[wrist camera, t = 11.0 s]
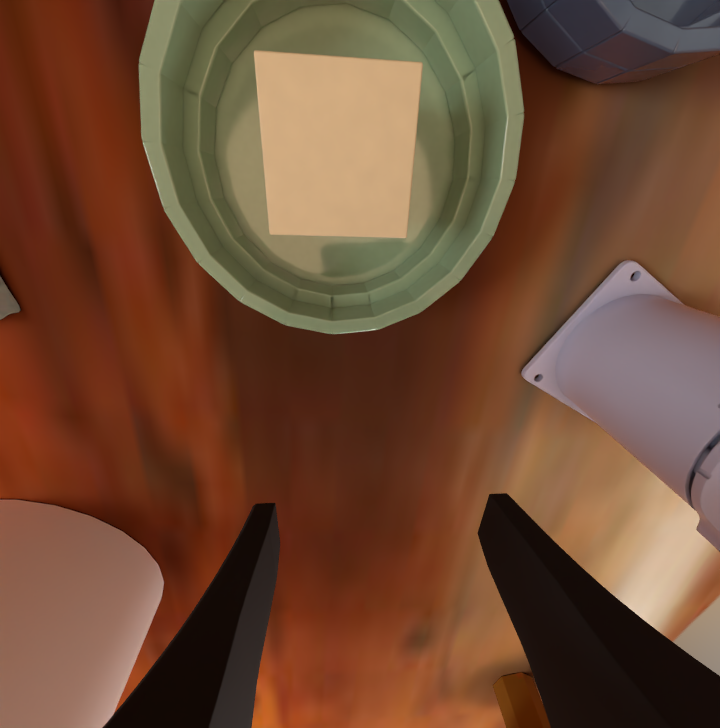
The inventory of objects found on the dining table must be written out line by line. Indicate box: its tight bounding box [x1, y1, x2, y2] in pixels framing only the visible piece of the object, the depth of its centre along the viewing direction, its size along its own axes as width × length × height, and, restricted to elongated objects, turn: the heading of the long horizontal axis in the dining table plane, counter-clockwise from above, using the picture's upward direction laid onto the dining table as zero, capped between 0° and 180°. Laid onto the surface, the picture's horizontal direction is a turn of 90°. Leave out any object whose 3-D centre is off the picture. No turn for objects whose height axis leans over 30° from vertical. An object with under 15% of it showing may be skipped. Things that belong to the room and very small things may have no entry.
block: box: [254, 50, 423, 238], centre depth 12 cm, size 4×4×5 cm
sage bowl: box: [139, 0, 524, 334], centre depth 13 cm, size 12×12×4 cm
